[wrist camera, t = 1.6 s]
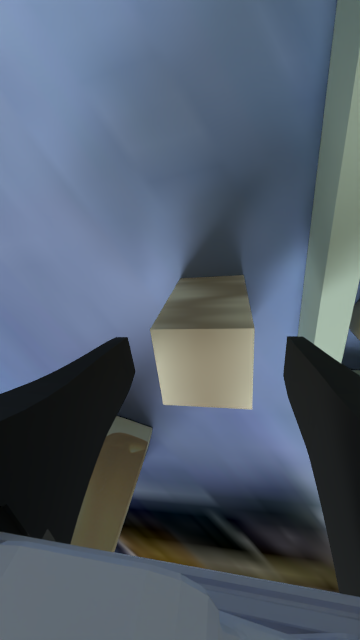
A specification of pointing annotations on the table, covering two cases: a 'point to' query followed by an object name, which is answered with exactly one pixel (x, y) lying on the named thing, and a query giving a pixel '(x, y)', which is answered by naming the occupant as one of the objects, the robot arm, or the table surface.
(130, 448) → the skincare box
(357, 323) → the tan cylinder
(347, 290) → the green board with holes
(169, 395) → the maple peg
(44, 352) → the table surface
